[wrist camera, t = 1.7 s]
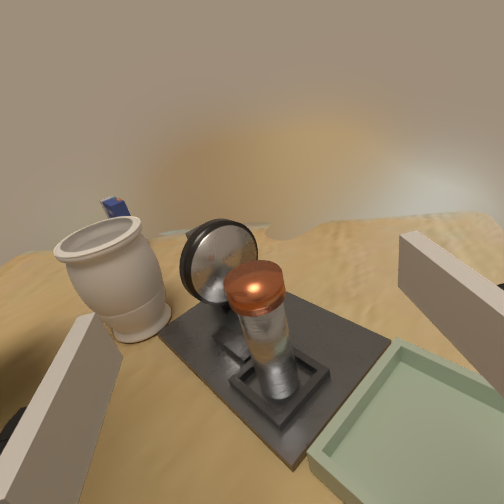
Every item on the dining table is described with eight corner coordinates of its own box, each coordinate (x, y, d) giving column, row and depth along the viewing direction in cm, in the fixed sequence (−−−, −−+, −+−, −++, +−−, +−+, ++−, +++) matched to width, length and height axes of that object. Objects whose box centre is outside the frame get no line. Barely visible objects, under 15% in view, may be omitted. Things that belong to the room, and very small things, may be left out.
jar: (189, 298, 48) (154, 211, 40) (159, 351, 39) (107, 253, 32) (132, 300, 51) (89, 218, 44) (92, 349, 42) (31, 259, 35)
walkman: (146, 250, 66) (123, 198, 60) (134, 256, 65) (109, 204, 59) (133, 241, 72) (110, 193, 66) (122, 247, 70) (98, 198, 64)
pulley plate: (159, 337, 42) (116, 254, 35) (245, 276, 50) (224, 199, 43) (293, 472, 25) (260, 359, 18) (391, 346, 33) (393, 237, 26)
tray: (310, 471, 25) (306, 451, 23) (395, 357, 32) (396, 336, 30) (544, 693, 15) (564, 684, 13) (592, 455, 22) (608, 432, 20)
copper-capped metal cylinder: (246, 383, 31) (211, 283, 25) (278, 353, 34) (253, 254, 27) (280, 412, 28) (250, 304, 22) (312, 377, 30) (294, 270, 24)
